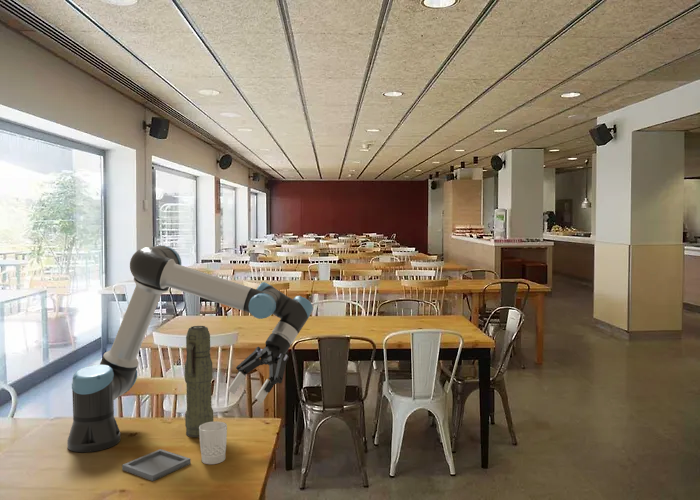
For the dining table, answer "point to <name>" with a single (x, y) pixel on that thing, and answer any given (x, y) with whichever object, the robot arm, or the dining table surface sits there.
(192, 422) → the thermos
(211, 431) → the white cup
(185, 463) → the charcoal tray
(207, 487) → the dining table surface
